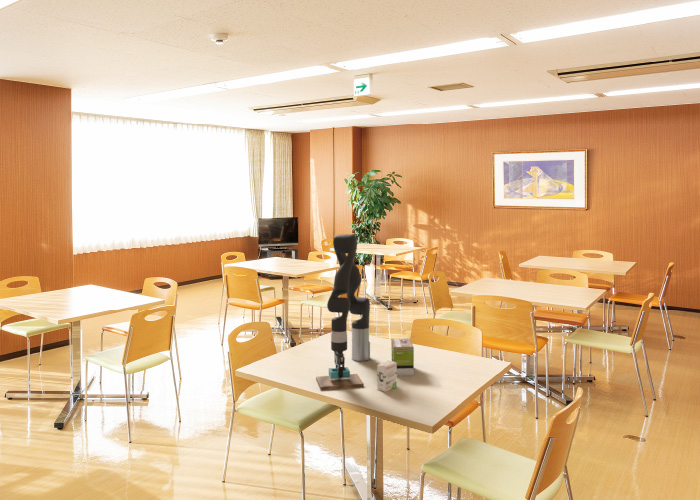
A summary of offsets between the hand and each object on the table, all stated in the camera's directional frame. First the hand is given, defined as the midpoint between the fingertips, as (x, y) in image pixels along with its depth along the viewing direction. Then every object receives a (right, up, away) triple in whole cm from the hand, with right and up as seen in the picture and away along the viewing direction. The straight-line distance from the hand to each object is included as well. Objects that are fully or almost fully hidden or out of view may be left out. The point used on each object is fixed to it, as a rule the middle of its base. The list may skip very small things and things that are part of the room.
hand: (339, 374), depth 255 cm
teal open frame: (0, -1, 0) cm, 1 cm away
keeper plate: (0, -4, 0) cm, 4 cm away
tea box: (+31, -2, +18) cm, 36 cm away
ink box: (+22, -5, -6) cm, 23 cm away
